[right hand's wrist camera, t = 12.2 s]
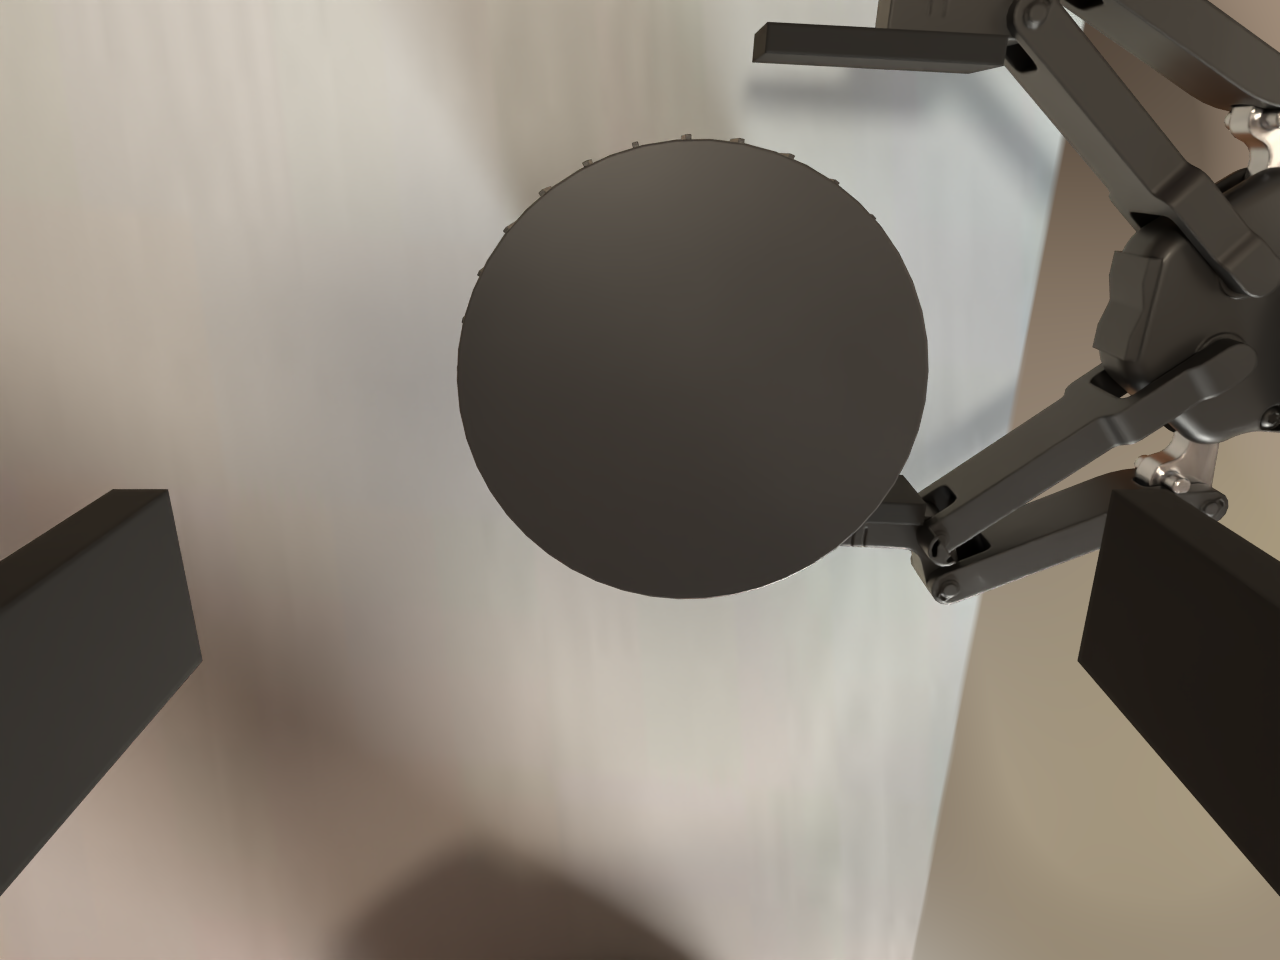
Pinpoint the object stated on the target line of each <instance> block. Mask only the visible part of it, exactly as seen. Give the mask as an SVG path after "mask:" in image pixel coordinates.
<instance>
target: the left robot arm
mask: <svg viewBox="0 0 1280 960" xmlns="http://www.w3.org/2000/svg"><path fill="white" fill-rule="evenodd" d="M1063 6H1064V7H1065V8H1067V9H1068V10H1070V11H1071V12H1072V13H1074V14H1075V15H1077V16H1078V17H1080V18H1081V19H1082V20H1084V21H1085V22H1087V23H1088V24H1090V25H1091V26H1092V27H1094V28H1095V29H1097V30H1098V31H1100V32H1101V33H1102V34H1104V35H1105V36H1107V37H1108V38H1110V39H1111V40H1113V41H1114V42H1115V43H1117V44H1118V45H1120V46H1121V47H1123V48H1124V49H1126V50H1127V51H1128V52H1130V53H1131V54H1133V55H1134V56H1135V57H1137V58H1138V59H1140V60H1141V61H1143V62H1144V63H1145V64H1147V65H1148V66H1150V67H1151V68H1153V69H1154V70H1155V71H1157V72H1158V73H1160V74H1161V75H1163V76H1164V77H1165V78H1167V79H1168V80H1170V81H1171V82H1173V83H1174V84H1175V85H1177V86H1178V87H1180V88H1181V89H1183V90H1184V91H1185V92H1187V93H1188V94H1190V95H1191V96H1193V97H1195V98H1196V99H1198V100H1200V101H1201V102H1203V103H1205V104H1208V105H1210V106H1213V107H1215V108H1218V109H1222V110H1226V111H1230V112H1229V113H1228V114H1227V116H1226V117H1225V122H1224V123H1225V126H1226V128H1228V129H1229V130H1230V131H1231V134H1232V135H1233V136H1234V137H1235V138H1237V139H1239V140H1240V141H1242V142H1244V143H1245V144H1246V145H1247V147H1248V149H1249V152H1250V160H1249V164H1248V167H1247V168H1243V169H1240V170H1237V171H1235V172H1233V173H1231V174H1229V175H1228V176H1226V177H1224V178H1223V179H1221V180H1220V181H1218V182H1216V183H1214V182H1213V181H1212V180H1211V178H1210V177H1209V176H1208V175H1207V174H1206V173H1205V172H1203V171H1202V170H1201V169H1199V168H1197V167H1195V166H1193V165H1191V164H1190V163H1188V162H1187V161H1186V160H1185V159H1184V158H1183V156H1182V155H1181V154H1180V153H1179V151H1178V150H1177V149H1176V148H1175V146H1174V145H1173V144H1172V143H1171V141H1170V140H1169V139H1168V138H1167V136H1166V135H1165V134H1164V133H1163V131H1162V130H1161V129H1160V128H1159V126H1158V125H1157V124H1156V123H1155V121H1154V120H1153V119H1152V118H1151V116H1150V115H1149V114H1148V113H1147V111H1146V110H1145V109H1144V108H1143V106H1142V105H1141V104H1140V103H1139V101H1138V100H1137V99H1136V98H1135V96H1134V95H1133V94H1132V93H1131V91H1130V90H1129V89H1128V88H1127V86H1126V85H1125V84H1124V83H1123V81H1122V80H1121V79H1120V78H1119V76H1118V75H1117V74H1116V73H1115V71H1114V70H1113V69H1112V68H1111V66H1110V65H1109V64H1108V63H1107V61H1106V60H1105V59H1104V58H1103V56H1102V55H1101V54H1100V53H1099V51H1098V50H1097V49H1096V48H1095V46H1094V45H1093V44H1092V43H1091V41H1090V40H1089V39H1088V38H1087V36H1086V35H1085V34H1084V33H1083V31H1082V30H1081V29H1080V28H1079V26H1078V25H1077V24H1076V23H1075V21H1074V20H1073V19H1072V18H1071V16H1070V15H1069V14H1068V13H1067V11H1066V10H1065V9H1064V7H1063ZM752 62H756V63H775V64H794V65H813V66H832V67H851V68H869V69H888V70H907V71H926V72H945V73H964V74H969V73H974V72H978V71H983V70H987V69H992V68H996V67H1000V66H1005V67H1006V68H1007V69H1008V70H1009V72H1010V73H1011V74H1012V75H1013V76H1014V78H1015V79H1016V80H1017V81H1018V82H1019V84H1020V85H1021V86H1022V87H1023V88H1024V89H1025V91H1026V92H1027V93H1028V94H1029V95H1030V97H1031V98H1032V99H1033V100H1034V101H1035V103H1036V104H1037V105H1038V106H1039V107H1040V109H1041V110H1042V111H1043V112H1044V113H1045V115H1046V116H1047V117H1048V118H1049V119H1050V120H1051V122H1052V123H1053V124H1054V125H1055V126H1056V128H1057V129H1058V130H1059V131H1060V132H1061V134H1062V135H1063V136H1064V137H1065V138H1066V140H1067V141H1068V142H1069V143H1070V144H1071V145H1072V147H1073V148H1074V149H1075V150H1076V151H1077V153H1078V154H1079V155H1080V156H1081V157H1082V159H1083V160H1084V161H1085V162H1086V163H1087V165H1088V166H1089V167H1090V168H1091V169H1092V171H1093V172H1094V173H1095V174H1096V175H1097V177H1098V178H1099V179H1100V180H1101V181H1102V182H1103V184H1104V185H1105V186H1106V187H1107V189H1108V190H1109V192H1110V194H1109V198H1110V200H1111V202H1112V203H1113V204H1114V206H1115V207H1116V208H1117V209H1118V210H1119V211H1120V213H1121V214H1122V215H1123V216H1124V217H1125V219H1126V220H1127V221H1128V222H1129V223H1130V224H1131V226H1132V227H1133V228H1134V229H1135V230H1136V233H1135V234H1134V235H1133V236H1132V237H1131V238H1130V240H1129V241H1128V242H1127V244H1126V246H1125V247H1124V249H1123V251H1115V252H1114V257H1113V261H1112V265H1111V269H1110V274H1109V286H1110V301H1109V303H1108V305H1107V307H1106V309H1105V311H1104V313H1103V315H1102V317H1101V319H1100V321H1099V323H1098V326H1097V330H1096V334H1095V339H1094V343H1093V347H1094V348H1096V349H1098V350H1099V352H1100V359H1101V362H1102V363H1101V364H1100V365H1098V366H1097V367H1095V368H1094V369H1092V370H1091V371H1089V372H1088V373H1086V374H1085V375H1083V376H1082V377H1080V378H1079V379H1077V380H1076V381H1074V382H1073V383H1071V384H1070V385H1069V386H1068V387H1067V388H1066V390H1065V394H1064V396H1063V397H1062V398H1061V399H1059V400H1058V401H1056V402H1055V403H1053V404H1052V405H1050V406H1049V407H1047V408H1046V409H1044V410H1043V411H1041V412H1040V413H1038V414H1037V415H1035V416H1034V417H1032V418H1031V419H1029V420H1028V421H1026V422H1025V423H1023V424H1022V425H1020V426H1019V427H1017V428H1016V429H1014V430H1013V431H1011V432H1010V433H1008V434H1007V435H1005V436H1003V437H1002V438H1000V439H999V440H997V441H996V442H994V443H993V444H991V445H990V446H988V447H987V448H985V449H984V450H982V451H981V452H979V453H978V454H976V455H975V456H973V457H972V458H970V459H969V460H967V461H966V462H964V463H963V464H961V465H960V466H958V467H957V468H955V469H954V470H952V471H951V472H949V473H948V474H946V475H945V476H943V477H942V478H940V479H939V480H937V481H936V482H934V483H932V484H931V485H929V486H928V487H926V488H925V489H923V490H922V491H920V492H919V493H917V492H916V491H915V489H914V488H913V487H912V486H911V484H910V483H909V482H908V481H907V480H906V478H905V477H904V476H903V475H899V476H898V478H897V480H896V482H895V484H894V485H893V487H892V488H891V489H890V491H889V492H888V494H887V495H886V497H885V498H884V499H883V501H882V502H881V504H880V505H879V507H878V508H877V509H876V510H875V511H874V512H873V514H872V515H871V516H870V517H869V518H868V519H867V520H866V521H865V522H864V524H863V525H862V526H861V527H860V528H859V529H858V530H857V531H856V532H855V533H853V534H852V535H851V536H850V537H849V538H848V539H847V540H845V541H844V542H843V543H842V544H841V545H840V546H853V547H862V546H864V547H875V548H899V549H908V550H910V551H911V553H912V555H911V564H912V566H913V567H914V569H915V570H916V572H917V574H918V575H919V577H920V578H921V580H922V581H923V583H924V584H925V586H926V587H927V589H928V590H929V592H930V593H931V594H932V596H933V597H934V599H935V600H936V601H937V602H939V603H941V604H946V605H948V604H954V603H957V602H959V601H962V600H965V599H967V598H970V597H973V596H975V595H978V594H981V593H983V592H986V591H989V590H991V589H994V588H997V587H999V586H1002V585H1005V584H1007V583H1010V582H1013V581H1016V580H1018V579H1021V578H1023V577H1026V576H1029V575H1032V574H1034V573H1037V572H1040V571H1042V570H1045V569H1048V568H1050V567H1053V566H1056V565H1058V564H1061V563H1064V562H1066V561H1069V560H1072V559H1074V558H1077V557H1080V556H1082V555H1085V554H1088V553H1090V552H1093V551H1096V550H1098V549H1100V547H1101V542H1102V537H1103V532H1104V527H1105V522H1106V517H1107V512H1108V507H1109V502H1110V497H1111V492H1112V489H1167V490H1169V491H1171V492H1172V493H1174V494H1175V495H1177V496H1178V497H1180V498H1181V499H1183V500H1185V501H1186V502H1188V503H1189V504H1191V505H1192V506H1194V507H1195V508H1197V509H1199V510H1200V511H1202V512H1203V513H1205V514H1206V515H1208V516H1210V517H1211V518H1213V519H1214V520H1216V521H1219V520H1220V519H1221V518H1222V517H1223V516H1224V515H1225V514H1226V511H1227V509H1228V500H1227V498H1226V496H1225V495H1224V494H1222V493H1220V492H1219V491H1217V490H1215V489H1214V488H1212V482H1213V476H1214V470H1215V464H1216V458H1217V453H1218V447H1219V443H1220V442H1223V441H1226V440H1228V439H1230V438H1232V437H1235V436H1237V435H1240V434H1244V433H1248V432H1254V431H1264V432H1279V433H1280V53H1279V52H1278V51H1277V50H1275V49H1274V48H1272V47H1271V46H1270V45H1268V44H1267V43H1266V42H1264V41H1263V40H1261V39H1260V38H1259V37H1257V36H1256V35H1254V34H1253V33H1252V32H1250V31H1249V30H1248V29H1246V28H1245V27H1243V26H1242V25H1241V24H1239V23H1238V22H1236V21H1235V20H1234V19H1233V18H1231V17H1230V16H1228V15H1227V14H1226V13H1224V12H1223V11H1222V10H1220V9H1219V8H1217V7H1216V6H1215V5H1213V4H1212V3H1211V2H1209V1H1208V0H879V2H878V10H877V18H876V26H875V28H870V27H851V26H833V25H814V24H796V23H777V22H767V23H766V24H765V25H764V26H763V27H762V28H761V29H760V30H759V31H758V32H757V33H756V34H755V37H754V49H753V61H752ZM1126 393H1129V394H1130V395H1131V396H1129V397H1127V398H1120V397H1122V396H1123V395H1125V394H1126ZM1162 426H1165V427H1166V428H1167V429H1168V430H1170V431H1172V432H1174V435H1173V438H1172V441H1171V442H1170V444H1169V445H1168V446H1167V447H1166V448H1165V449H1163V450H1162V451H1160V452H1157V453H1154V454H1151V455H1142V456H1139V457H1138V458H1137V459H1136V460H1135V463H1134V465H1135V468H1134V469H1125V470H1120V471H1115V472H1111V473H1107V474H1104V475H1101V476H1098V477H1095V478H1093V479H1090V480H1087V481H1085V482H1082V483H1080V484H1077V485H1074V486H1072V487H1069V488H1067V489H1064V490H1061V491H1059V492H1056V493H1054V494H1051V495H1049V496H1046V497H1043V498H1041V499H1038V500H1036V501H1033V502H1030V503H1028V504H1026V503H1027V502H1029V501H1031V500H1032V499H1034V498H1035V497H1037V496H1038V495H1040V494H1041V493H1043V492H1045V491H1046V490H1048V489H1049V488H1051V487H1052V486H1054V485H1056V484H1057V483H1059V482H1060V481H1062V480H1063V479H1065V478H1066V477H1068V476H1070V475H1071V474H1073V473H1074V472H1076V471H1077V470H1079V469H1081V468H1082V467H1084V466H1085V465H1087V464H1088V463H1090V462H1092V461H1093V460H1095V459H1096V458H1098V457H1099V456H1101V455H1102V454H1104V453H1106V452H1107V451H1109V450H1110V449H1112V448H1114V447H1116V446H1119V445H1130V444H1133V443H1136V442H1138V441H1140V440H1142V439H1144V438H1145V437H1147V436H1148V435H1150V434H1151V433H1153V432H1155V431H1156V430H1158V429H1159V428H1161V427H1162ZM1024 504H1025V505H1024Z"/></svg>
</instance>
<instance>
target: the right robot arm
mask: <svg viewBox="0 0 1280 960" xmlns="http://www.w3.org/2000/svg"><path fill="white" fill-rule="evenodd" d="M201 662H202V656H201V651H200V646H199V641H198V636H197V631H196V626H195V621H194V616H193V611H192V606H191V601H190V596H189V591H188V586H187V581H186V576H185V571H184V566H183V562H182V557H181V552H180V547H179V542H178V537H177V532H176V527H175V522H174V517H173V512H172V507H171V502H170V497H169V492H168V489H113V490H111V491H109V492H108V493H106V494H105V495H103V496H102V497H100V498H99V499H97V500H95V501H94V502H92V503H91V504H89V505H88V506H86V507H85V508H83V509H81V510H80V511H78V512H77V513H75V514H74V515H72V516H70V517H69V518H67V519H66V520H64V521H63V522H61V523H60V524H58V525H56V526H55V527H53V528H52V529H50V530H49V531H47V532H46V533H44V534H42V535H41V536H39V537H38V538H36V539H35V540H33V541H31V542H30V543H28V544H27V545H25V546H24V547H22V548H21V549H19V550H17V551H16V552H14V553H13V554H11V555H10V556H8V557H7V558H5V559H3V560H2V561H0V896H1V895H2V894H3V893H4V891H5V890H6V889H7V888H8V887H9V886H10V884H11V883H12V882H13V881H14V880H15V879H16V877H17V876H18V875H19V874H20V873H21V872H22V870H23V869H24V868H25V867H26V866H27V865H28V863H29V862H30V861H31V860H32V859H33V858H34V856H35V855H36V854H37V853H38V852H39V851H40V849H41V848H42V847H43V846H44V845H45V844H46V842H47V841H48V840H49V839H50V838H51V837H52V835H53V834H54V833H55V832H56V831H57V830H58V829H59V827H60V826H61V825H62V824H63V823H64V822H65V820H66V819H67V818H68V817H69V816H70V815H71V813H72V812H73V811H74V810H75V809H76V808H77V806H78V805H79V804H80V803H81V802H82V801H83V799H84V798H85V797H86V796H87V795H88V794H89V792H90V791H91V790H92V789H93V788H94V787H95V785H96V784H97V783H98V782H99V781H100V780H101V778H102V777H103V776H104V775H105V774H106V773H107V771H108V770H109V769H110V768H111V767H112V766H113V764H114V763H115V762H116V761H117V760H118V759H119V757H120V756H121V755H122V754H123V753H124V752H125V750H126V749H127V748H128V747H129V746H130V745H131V743H132V742H133V741H134V740H135V739H136V738H137V737H138V735H139V734H140V733H141V732H142V731H143V730H144V728H145V727H146V726H147V725H148V724H149V723H150V721H151V720H152V719H153V718H154V717H155V716H156V714H157V713H158V712H159V711H160V710H161V709H162V707H163V706H164V705H165V704H166V703H167V702H168V700H169V699H170V698H171V697H172V696H173V695H174V693H175V692H176V691H177V690H178V689H179V688H180V686H181V685H182V684H183V683H184V682H185V681H186V679H187V678H188V677H189V676H190V675H191V674H192V672H193V671H194V670H195V669H196V668H197V667H198V665H199V664H200V663H201ZM1078 662H1079V663H1080V664H1081V665H1082V667H1083V668H1084V669H1085V670H1086V671H1087V672H1088V674H1089V675H1090V676H1091V677H1092V678H1093V679H1094V681H1095V682H1096V683H1097V684H1098V685H1099V686H1100V688H1101V689H1102V690H1103V691H1104V692H1105V693H1106V695H1107V696H1108V697H1109V698H1110V699H1111V700H1112V702H1113V703H1114V704H1115V705H1116V706H1117V707H1118V709H1119V710H1120V711H1121V712H1122V713H1123V714H1124V716H1125V717H1126V718H1127V719H1128V720H1129V721H1130V722H1131V724H1132V725H1133V726H1134V727H1135V728H1136V730H1137V731H1138V732H1139V733H1140V734H1141V735H1142V736H1143V738H1144V739H1145V740H1146V741H1147V742H1148V743H1149V745H1150V746H1151V747H1152V748H1153V749H1154V750H1155V752H1156V753H1157V754H1158V755H1159V756H1160V757H1161V759H1162V760H1163V761H1164V762H1165V763H1166V764H1167V766H1168V767H1169V768H1170V769H1171V770H1172V771H1173V773H1174V774H1175V775H1176V776H1177V777H1178V778H1179V780H1180V781H1181V782H1182V783H1183V784H1184V785H1185V787H1186V788H1187V789H1188V790H1189V791H1190V792H1191V794H1192V795H1193V796H1194V797H1195V798H1196V799H1197V801H1198V802H1199V803H1200V804H1201V805H1202V806H1203V808H1204V809H1205V810H1206V811H1207V812H1208V813H1209V814H1210V816H1211V817H1212V818H1213V819H1214V820H1215V822H1216V823H1217V824H1218V825H1219V826H1220V827H1221V829H1222V830H1223V831H1224V832H1225V833H1226V834H1227V835H1228V837H1229V838H1230V839H1231V840H1232V841H1233V842H1234V844H1235V845H1236V846H1237V847H1238V848H1239V849H1240V851H1241V852H1242V853H1243V854H1244V855H1245V856H1246V858H1247V859H1248V860H1249V861H1250V862H1251V863H1252V864H1253V866H1254V867H1255V868H1256V869H1257V870H1258V872H1259V873H1260V874H1261V875H1262V876H1263V877H1264V879H1265V880H1266V881H1267V882H1268V883H1269V884H1270V886H1271V887H1272V888H1273V889H1274V890H1275V891H1276V893H1277V894H1278V895H1279V896H1280V561H1278V560H1277V559H1275V558H1273V557H1272V556H1270V555H1269V554H1267V553H1266V552H1264V551H1263V550H1261V549H1259V548H1258V547H1256V546H1255V545H1253V544H1252V543H1250V542H1249V541H1247V540H1245V539H1244V538H1242V537H1241V536H1239V535H1238V534H1236V533H1234V532H1233V531H1231V530H1230V529H1228V528H1227V527H1225V526H1224V525H1222V524H1220V523H1219V522H1217V521H1216V520H1214V519H1213V518H1211V517H1210V516H1208V515H1206V514H1205V513H1203V512H1202V511H1200V510H1199V509H1197V508H1195V507H1194V506H1192V505H1191V504H1189V503H1188V502H1186V501H1185V500H1183V499H1181V498H1180V497H1178V496H1177V495H1175V494H1174V493H1172V492H1171V491H1169V490H1167V489H1112V492H1111V497H1110V502H1109V507H1108V512H1107V517H1106V522H1105V527H1104V532H1103V537H1102V542H1101V547H1100V552H1099V557H1098V562H1097V566H1096V572H1095V576H1094V581H1093V587H1092V591H1091V596H1090V601H1089V606H1088V611H1087V616H1086V621H1085V626H1084V631H1083V636H1082V641H1081V646H1080V651H1079V656H1078Z"/></svg>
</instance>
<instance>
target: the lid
mask: <svg viewBox="0 0 1280 960" xmlns="http://www.w3.org/2000/svg"><path fill="white" fill-rule="evenodd" d="M632 145H633V148H632V149H628V150H625V151H622V152H619V153H615V154H612V155H609V156H607V157H605V158H603V159H601V160H599V161H596V162H594V163H593V162H592V160H587V161H585V162H583V165H584V168H582V169H579V170H578V171H576V172H575V173H573V174H572V175H570V176H569V177H567V178H566V179H564V180H562V181H561V182H559V183H558V184H556V185H555V186H553V187H552V188H551V186H549V187H547V188H545V189H543V190H541V191H540V192H539V194H540V196H541V197H540V198H539V199H538V200H537V201H535V202H534V203H533V204H532V205H531V206H530V207H528V208H527V209H526V210H525V211H524V213H523V214H522V215H521V216H520V217H519V218H518V219H517V221H515V222H513V223H512V224H510V225H509V226H507V227H506V228H505V229H504V230H503V232H505V234H504V236H503V237H502V239H501V240H500V242H499V243H498V245H497V246H496V248H495V249H494V251H493V252H492V254H491V255H490V257H489V258H488V260H487V262H486V264H485V266H484V267H483V268H482V269H481V270H479V272H478V274H477V275H478V276H479V278H478V280H477V283H476V285H475V287H474V289H473V292H472V295H471V298H470V301H469V304H468V307H467V310H466V313H465V316H464V317H463V319H462V323H463V325H462V331H461V336H460V342H459V348H458V365H457V387H458V397H459V408H460V413H461V418H462V422H463V426H464V431H465V435H466V439H467V442H468V444H469V447H470V450H471V452H472V455H473V458H474V460H475V463H476V466H477V468H478V469H479V471H480V473H481V475H482V477H483V479H484V481H485V483H486V484H487V486H488V488H489V490H490V492H491V493H492V495H493V496H494V497H495V499H496V500H497V502H498V503H499V504H500V506H501V507H502V509H503V510H504V511H505V513H506V514H507V515H508V516H509V518H510V519H511V520H512V521H513V522H514V523H515V524H516V525H517V526H518V527H519V528H520V529H521V531H522V532H523V533H524V534H525V535H526V536H527V537H529V538H530V539H531V540H532V541H533V542H534V543H536V544H537V545H538V546H539V547H540V548H542V549H543V550H544V551H545V552H546V553H548V554H549V555H551V556H552V557H554V558H555V559H557V560H558V561H560V562H561V563H563V564H564V565H566V566H568V567H569V568H571V569H572V570H574V571H577V572H579V573H581V574H583V575H585V576H587V577H589V578H591V579H593V580H595V581H597V582H600V583H603V584H606V585H609V586H612V587H615V588H617V589H620V590H623V591H628V592H633V593H637V594H642V595H646V596H652V597H662V598H672V599H706V598H714V597H721V596H728V595H735V594H739V593H743V592H747V591H751V590H754V589H758V588H762V587H765V586H767V585H770V584H772V583H775V582H778V581H780V580H783V579H785V578H788V577H790V576H792V575H794V574H796V573H798V572H799V571H801V570H803V569H805V568H807V567H809V566H811V565H813V564H814V563H816V562H817V561H819V560H820V559H822V558H823V557H825V556H826V555H827V554H829V553H830V552H832V551H833V550H835V549H836V548H837V547H839V546H840V545H841V544H842V543H843V542H844V541H845V540H847V539H848V538H849V537H850V536H851V535H852V534H853V533H855V532H856V531H857V530H858V529H859V528H860V527H861V526H862V525H863V524H864V522H865V521H866V520H867V519H868V518H869V517H870V516H871V515H872V514H873V512H874V511H875V510H876V509H877V508H878V507H879V505H880V504H881V502H882V501H883V499H884V498H885V497H886V495H887V494H888V492H889V491H890V489H891V488H892V487H893V485H894V484H895V482H896V480H897V478H898V476H899V474H900V472H901V470H902V469H903V467H904V465H905V463H906V461H907V459H908V457H909V454H910V452H911V449H912V446H913V444H914V441H915V438H916V436H917V433H918V430H919V426H920V422H921V418H922V414H923V409H924V405H925V401H926V391H927V381H928V344H927V336H926V330H925V324H924V318H923V313H922V309H921V305H920V302H919V299H918V296H917V293H916V290H915V287H914V284H913V281H912V279H911V277H910V275H909V272H908V270H907V268H906V266H905V264H904V262H903V260H902V258H901V256H900V254H899V252H898V251H897V249H896V248H895V246H894V245H893V243H892V242H891V240H890V239H889V237H888V236H887V234H886V233H885V231H884V230H883V228H882V227H881V226H880V225H879V223H878V222H877V221H876V220H875V219H876V218H875V217H874V215H872V214H869V212H868V211H867V210H866V209H865V208H864V207H863V206H862V205H861V204H860V203H859V202H858V201H857V200H856V199H855V198H853V197H852V196H851V195H850V194H849V193H847V192H846V191H845V190H844V189H842V188H841V187H840V186H839V185H838V184H839V182H838V181H837V180H834V179H829V178H827V177H826V176H824V175H822V174H821V173H819V172H817V171H816V170H814V169H813V168H811V167H809V166H808V165H806V164H803V163H801V162H799V161H796V160H794V157H795V155H792V154H789V153H778V152H775V151H771V150H768V149H764V148H760V147H756V146H753V145H749V144H745V143H744V139H742V138H735V139H730V141H722V140H714V139H691V134H686V135H682V136H681V140H671V141H665V142H659V143H653V144H646V145H641V146H639V144H638V142H634V143H632Z"/></svg>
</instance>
